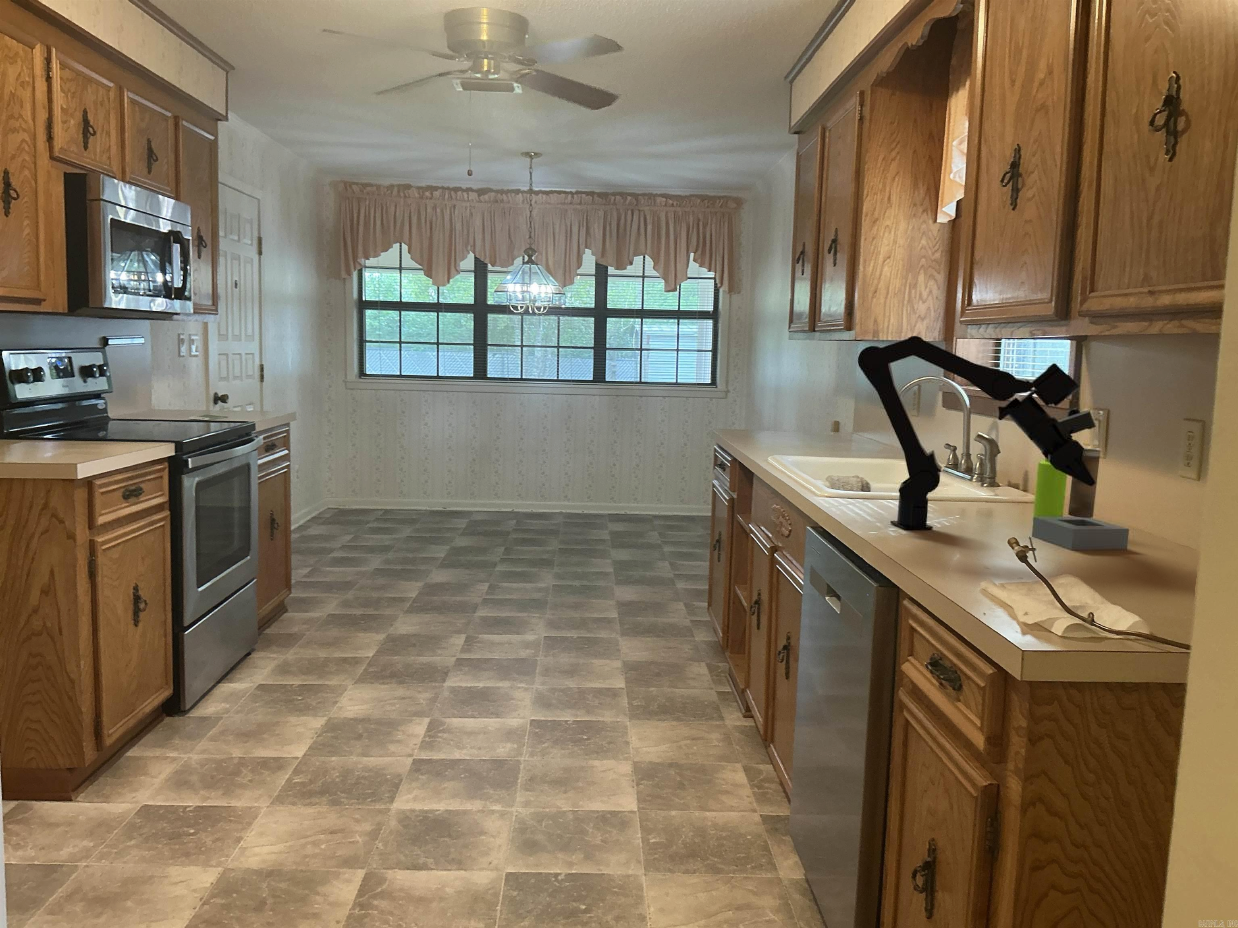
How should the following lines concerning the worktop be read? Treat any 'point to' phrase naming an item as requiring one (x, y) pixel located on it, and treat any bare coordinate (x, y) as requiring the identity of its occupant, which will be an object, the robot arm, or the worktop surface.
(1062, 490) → the soap dispenser
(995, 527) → the worktop surface
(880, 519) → the worktop surface
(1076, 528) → the socket block
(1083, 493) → the peg
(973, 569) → the worktop surface
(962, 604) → the worktop surface
